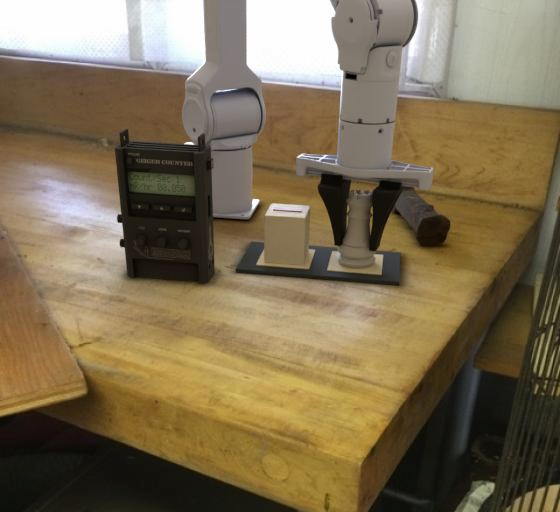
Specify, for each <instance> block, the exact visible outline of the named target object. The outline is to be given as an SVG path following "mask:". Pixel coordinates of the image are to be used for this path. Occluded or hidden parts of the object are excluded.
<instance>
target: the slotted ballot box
mask: <svg viewBox="0 0 560 512" xmlns="http://www.w3.org/2000/svg"><path fill="white" fill-rule="evenodd" d="M310 227H311V205H306V204H305V205H303V204H291V203H289V204H288V203H273V202H272V203H271V204H270V205H269V207H268V208H267V210H266V212H265V214H264V235H263V237H264V241H263V242H264V262H265V263H278V264H291V265H304V263H305V260H306V257H307V254H308V252H309V246H310V231H311V229H310Z"/></svg>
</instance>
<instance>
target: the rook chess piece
mask: <svg viewBox="0 0 560 512" xmlns="http://www.w3.org/2000/svg"><path fill="white" fill-rule="evenodd" d="M363 191H364V192H362V188H355V189H350V192H349V196H348V198H347V199H346V202H347V204H348V210H347V230H346V234H345V237H344V238H343V240H342V244H341V246H337V248H338V251H339V254H338V255H337V259H338V261H339V262H340V264H342V265H344V266H346V267H350V268H365V267H369V266H371V265H372V264H373V263H374V262H375V260H376V258H375V257H374V254H375V252H376V251H377V250H376V251H369V242H370V235H371V218H372V216H373V213H372V211H371V210H372V208H373V202H372V191H373V190H370V189H364V190H363Z"/></svg>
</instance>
